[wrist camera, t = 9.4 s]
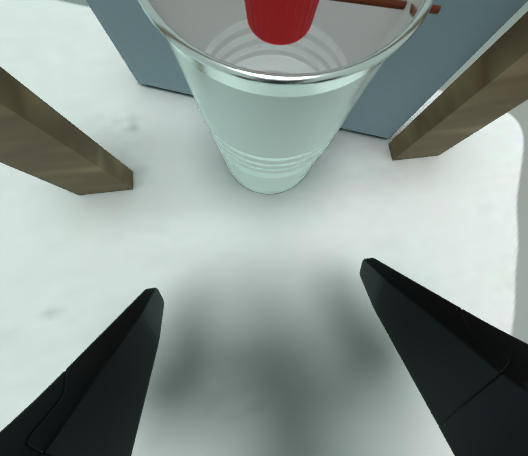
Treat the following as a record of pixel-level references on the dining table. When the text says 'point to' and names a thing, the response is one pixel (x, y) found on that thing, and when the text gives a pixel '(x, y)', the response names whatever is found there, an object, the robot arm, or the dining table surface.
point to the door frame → (402, 146)
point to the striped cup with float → (281, 72)
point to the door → (381, 86)
